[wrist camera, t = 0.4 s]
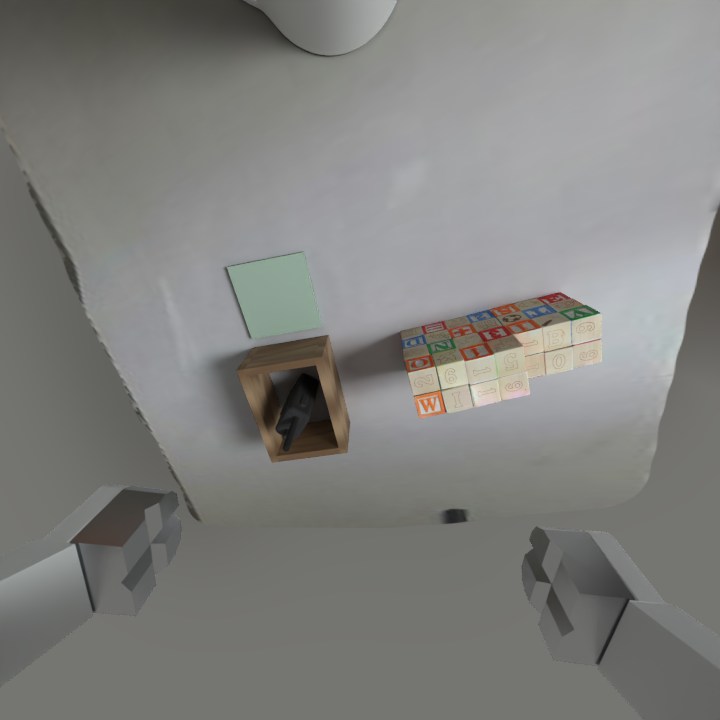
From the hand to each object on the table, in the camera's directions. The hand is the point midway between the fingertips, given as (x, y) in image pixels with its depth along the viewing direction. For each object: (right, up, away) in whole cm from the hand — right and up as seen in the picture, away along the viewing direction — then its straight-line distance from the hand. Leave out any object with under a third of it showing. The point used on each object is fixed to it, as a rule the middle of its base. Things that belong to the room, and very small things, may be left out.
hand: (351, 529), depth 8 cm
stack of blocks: (+17, +8, +40) cm, 44 cm away
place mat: (-11, +12, +39) cm, 42 cm away
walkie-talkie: (-8, 0, +45) cm, 45 cm away
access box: (-8, 0, +45) cm, 45 cm away
